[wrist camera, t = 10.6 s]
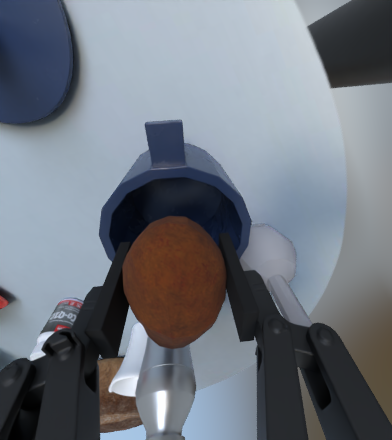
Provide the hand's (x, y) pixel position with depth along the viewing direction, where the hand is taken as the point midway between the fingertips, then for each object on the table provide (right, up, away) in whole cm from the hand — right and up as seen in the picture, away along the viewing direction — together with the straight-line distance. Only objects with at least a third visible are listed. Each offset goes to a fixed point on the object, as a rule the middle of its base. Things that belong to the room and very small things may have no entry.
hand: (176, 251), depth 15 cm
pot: (-1, +6, +9) cm, 11 cm away
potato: (0, 0, 0) cm, 0 cm away
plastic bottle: (-3, -8, +18) cm, 20 cm away
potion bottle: (+11, -1, +15) cm, 18 cm away
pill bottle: (-21, -13, +19) cm, 31 cm away
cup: (-9, -20, +25) cm, 33 cm away
